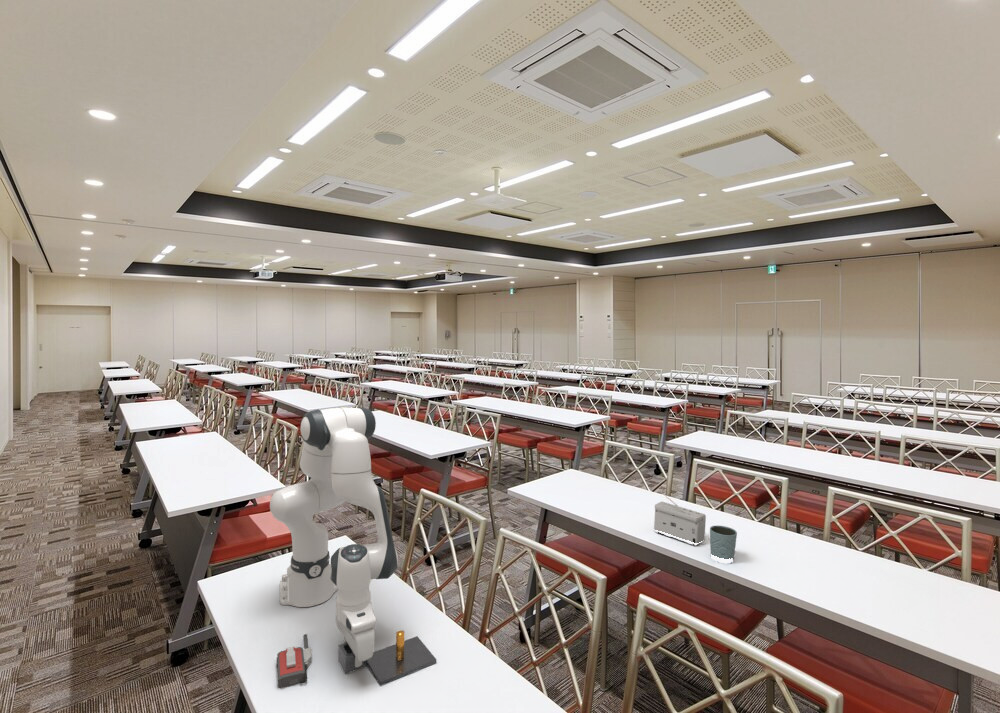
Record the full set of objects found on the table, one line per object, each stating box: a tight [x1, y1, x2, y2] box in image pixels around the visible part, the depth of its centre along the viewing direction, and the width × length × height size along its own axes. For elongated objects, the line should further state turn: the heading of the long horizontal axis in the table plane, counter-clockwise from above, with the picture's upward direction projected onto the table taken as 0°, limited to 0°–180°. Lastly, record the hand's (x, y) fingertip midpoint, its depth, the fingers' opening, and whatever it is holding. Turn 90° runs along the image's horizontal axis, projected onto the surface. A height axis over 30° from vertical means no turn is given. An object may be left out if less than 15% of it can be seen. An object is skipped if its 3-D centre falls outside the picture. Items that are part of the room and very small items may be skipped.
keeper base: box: [367, 630, 437, 687], centre depth 136 cm, size 12×16×8 cm
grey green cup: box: [709, 525, 738, 559], centre depth 202 cm, size 10×10×12 cm
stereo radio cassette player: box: [653, 489, 707, 543], centre depth 221 cm, size 21×8×20 cm, turn 44°
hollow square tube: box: [337, 642, 368, 675], centre depth 135 cm, size 6×6×4 cm
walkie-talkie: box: [276, 633, 313, 689], centre depth 134 cm, size 9×4×20 cm
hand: (353, 657), depth 135 cm, fingers closed on hollow square tube, 6 cm apart
